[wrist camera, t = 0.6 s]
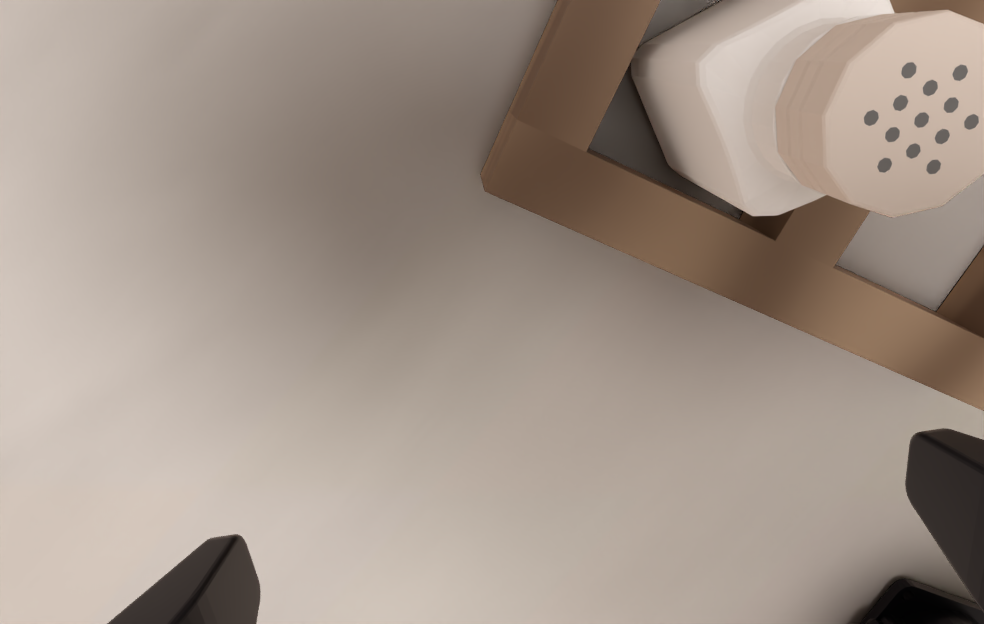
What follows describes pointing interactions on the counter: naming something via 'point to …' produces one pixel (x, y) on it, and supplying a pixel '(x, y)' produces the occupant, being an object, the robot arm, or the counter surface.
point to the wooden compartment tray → (717, 211)
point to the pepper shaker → (819, 103)
